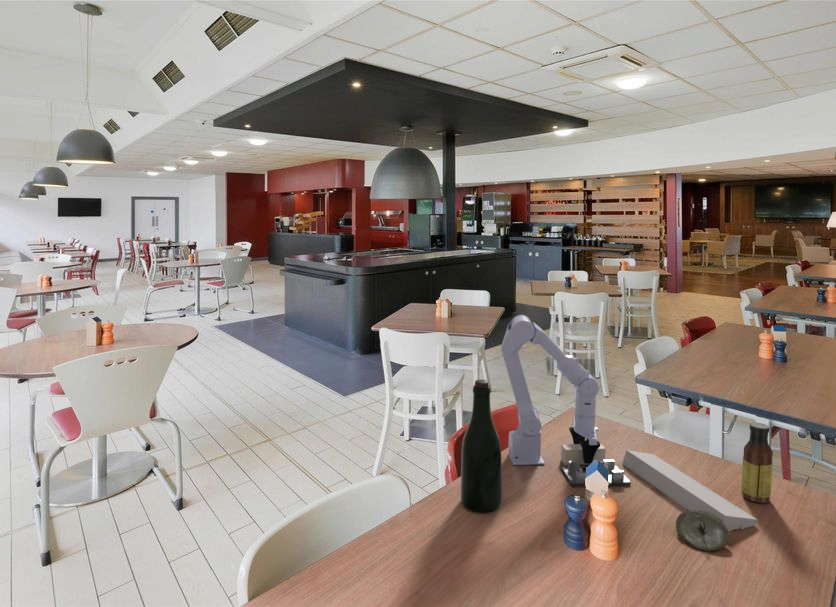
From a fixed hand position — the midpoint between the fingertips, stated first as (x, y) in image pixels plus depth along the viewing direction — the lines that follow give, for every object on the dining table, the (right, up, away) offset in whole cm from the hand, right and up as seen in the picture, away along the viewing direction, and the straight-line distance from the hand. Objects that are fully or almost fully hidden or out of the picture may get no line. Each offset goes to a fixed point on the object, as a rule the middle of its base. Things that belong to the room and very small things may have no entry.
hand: (583, 457), depth 146 cm
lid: (+15, -7, -36) cm, 39 cm away
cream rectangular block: (0, -2, 0) cm, 2 cm away
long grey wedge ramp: (+21, -5, -16) cm, 27 cm away
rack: (0, -3, -9) cm, 10 cm away
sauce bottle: (+38, -4, -20) cm, 43 cm away
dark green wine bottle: (-33, -6, -21) cm, 40 cm away
